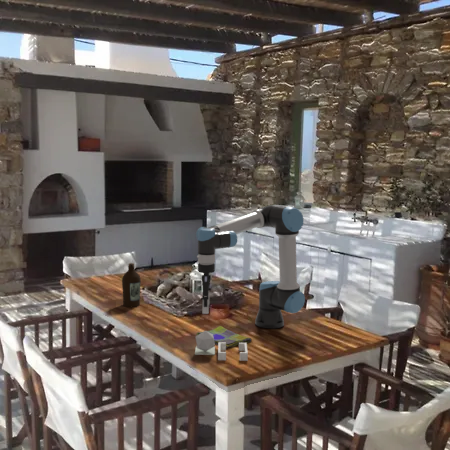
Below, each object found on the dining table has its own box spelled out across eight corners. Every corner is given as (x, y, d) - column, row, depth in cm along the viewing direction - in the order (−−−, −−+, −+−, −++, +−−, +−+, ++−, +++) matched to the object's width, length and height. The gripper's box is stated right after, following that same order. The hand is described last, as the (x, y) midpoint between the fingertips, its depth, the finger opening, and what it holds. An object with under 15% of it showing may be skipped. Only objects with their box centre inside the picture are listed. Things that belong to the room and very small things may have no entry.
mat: (215, 348, 264) (215, 346, 264) (214, 355, 255) (214, 353, 255) (195, 347, 264) (195, 346, 264) (194, 354, 255) (194, 353, 255)
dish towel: (222, 329, 292) (222, 324, 291) (253, 342, 273) (253, 337, 273) (194, 336, 281) (194, 331, 280) (225, 350, 262) (225, 345, 262)
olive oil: (118, 305, 329) (118, 263, 326) (133, 302, 337) (133, 261, 333) (129, 309, 322) (128, 266, 318) (144, 306, 329) (144, 264, 326)
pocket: (246, 350, 262) (246, 342, 261) (247, 360, 249) (247, 353, 249) (218, 349, 262) (218, 342, 261) (218, 360, 249) (218, 352, 248)
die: (216, 349, 260) (217, 328, 259) (211, 356, 252) (211, 334, 250) (199, 347, 262) (199, 326, 261) (193, 354, 254) (193, 332, 253)
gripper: (199, 257, 266) (198, 301, 269) (196, 269, 241) (196, 317, 244) (215, 257, 266) (214, 301, 269) (214, 269, 241) (213, 317, 244)
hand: (205, 309), depth 257 cm, fingers open, 13 cm apart
